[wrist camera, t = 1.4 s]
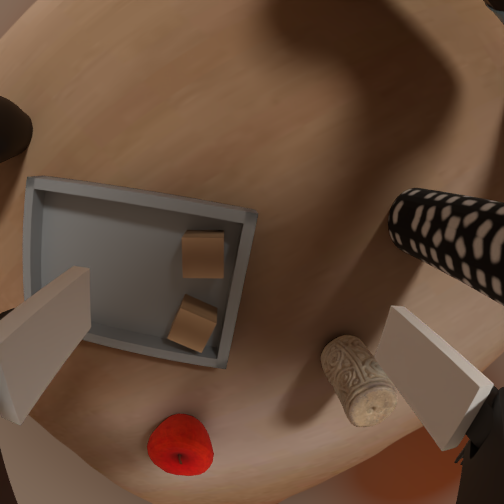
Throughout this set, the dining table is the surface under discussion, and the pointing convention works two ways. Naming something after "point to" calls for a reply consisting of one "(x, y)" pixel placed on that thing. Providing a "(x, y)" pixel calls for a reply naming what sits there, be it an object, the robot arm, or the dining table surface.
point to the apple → (181, 446)
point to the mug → (13, 129)
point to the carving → (358, 381)
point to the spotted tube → (453, 236)
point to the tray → (135, 261)
